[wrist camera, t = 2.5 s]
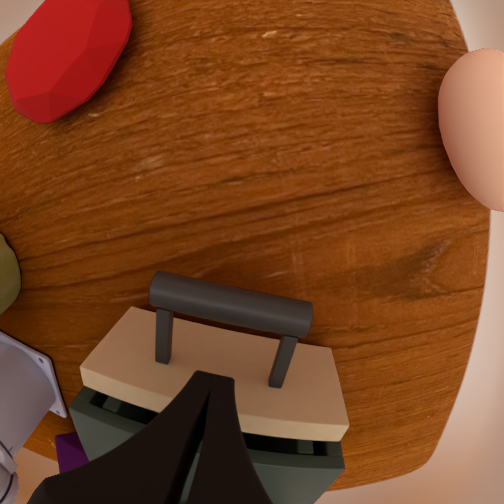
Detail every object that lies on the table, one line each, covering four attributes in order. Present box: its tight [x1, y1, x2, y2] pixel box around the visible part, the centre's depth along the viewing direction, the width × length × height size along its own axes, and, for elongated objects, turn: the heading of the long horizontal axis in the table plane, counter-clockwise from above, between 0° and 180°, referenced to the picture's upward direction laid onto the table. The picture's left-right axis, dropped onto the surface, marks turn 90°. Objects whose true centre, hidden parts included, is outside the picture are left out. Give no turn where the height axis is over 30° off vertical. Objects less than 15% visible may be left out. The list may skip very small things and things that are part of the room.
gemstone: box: [5, 0, 133, 124], centre depth 11 cm, size 9×9×3 cm
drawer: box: [80, 271, 349, 455], centre depth 14 cm, size 17×11×6 cm
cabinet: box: [68, 386, 345, 504], centre depth 16 cm, size 14×13×8 cm
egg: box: [438, 49, 504, 211], centre depth 9 cm, size 7×7×8 cm
